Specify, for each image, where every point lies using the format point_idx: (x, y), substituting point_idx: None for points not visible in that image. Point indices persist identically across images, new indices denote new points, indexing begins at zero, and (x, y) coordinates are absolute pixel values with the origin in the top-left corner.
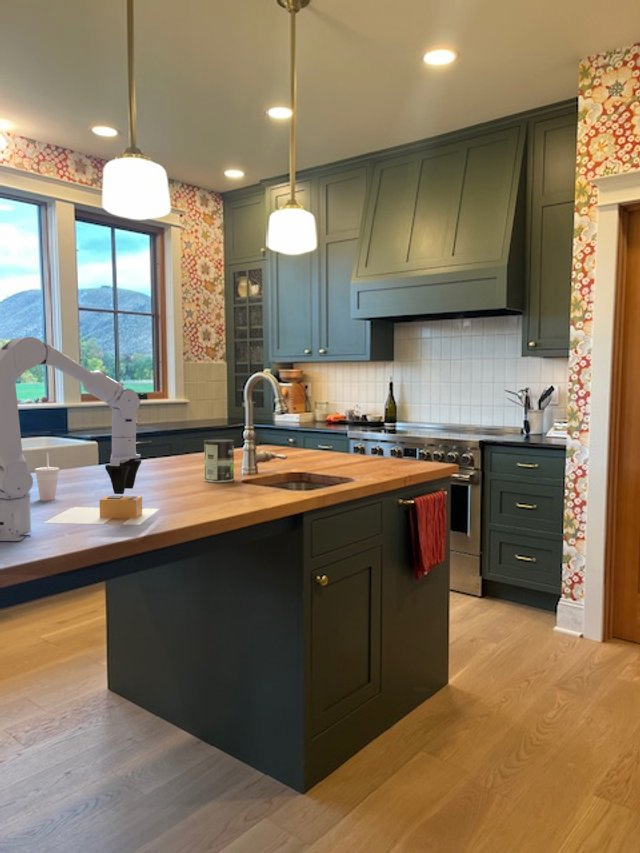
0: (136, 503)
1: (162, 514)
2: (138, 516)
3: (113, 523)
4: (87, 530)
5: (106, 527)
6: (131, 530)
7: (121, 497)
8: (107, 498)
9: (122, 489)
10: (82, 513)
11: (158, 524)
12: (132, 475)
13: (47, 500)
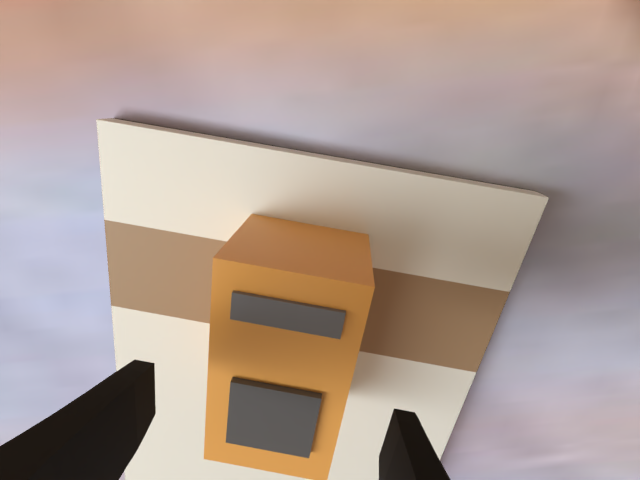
0: (366, 272)
1: (161, 94)
2: (324, 227)
3: (479, 331)
4: (495, 406)
5: None
6: (557, 231)
7: (268, 384)
8: (310, 452)
9: (432, 451)
10: None
11: (441, 91)
12: (55, 475)
13: None
